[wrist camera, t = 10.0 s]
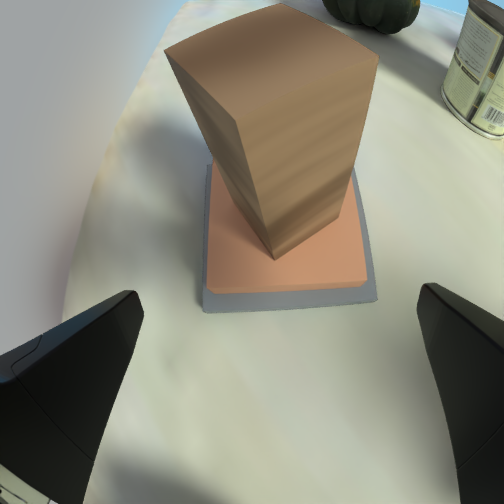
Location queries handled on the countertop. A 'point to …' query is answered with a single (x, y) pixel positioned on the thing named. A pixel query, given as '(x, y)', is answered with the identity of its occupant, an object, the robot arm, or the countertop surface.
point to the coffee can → (478, 71)
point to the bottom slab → (289, 298)
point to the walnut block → (279, 115)
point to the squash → (375, 13)
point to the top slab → (289, 265)
